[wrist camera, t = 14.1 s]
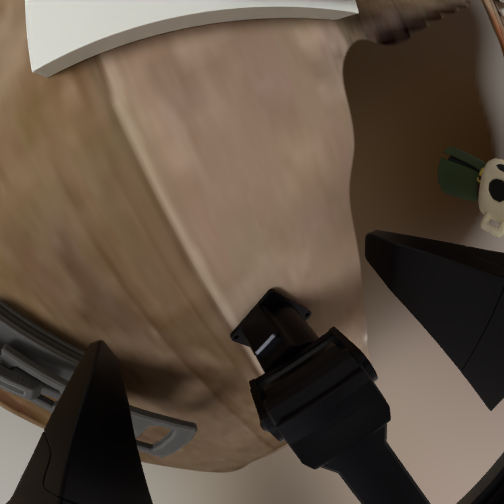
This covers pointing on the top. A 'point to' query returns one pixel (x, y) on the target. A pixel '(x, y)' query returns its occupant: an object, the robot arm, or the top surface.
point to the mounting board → (143, 22)
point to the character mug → (475, 185)
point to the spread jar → (503, 10)
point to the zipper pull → (65, 377)
